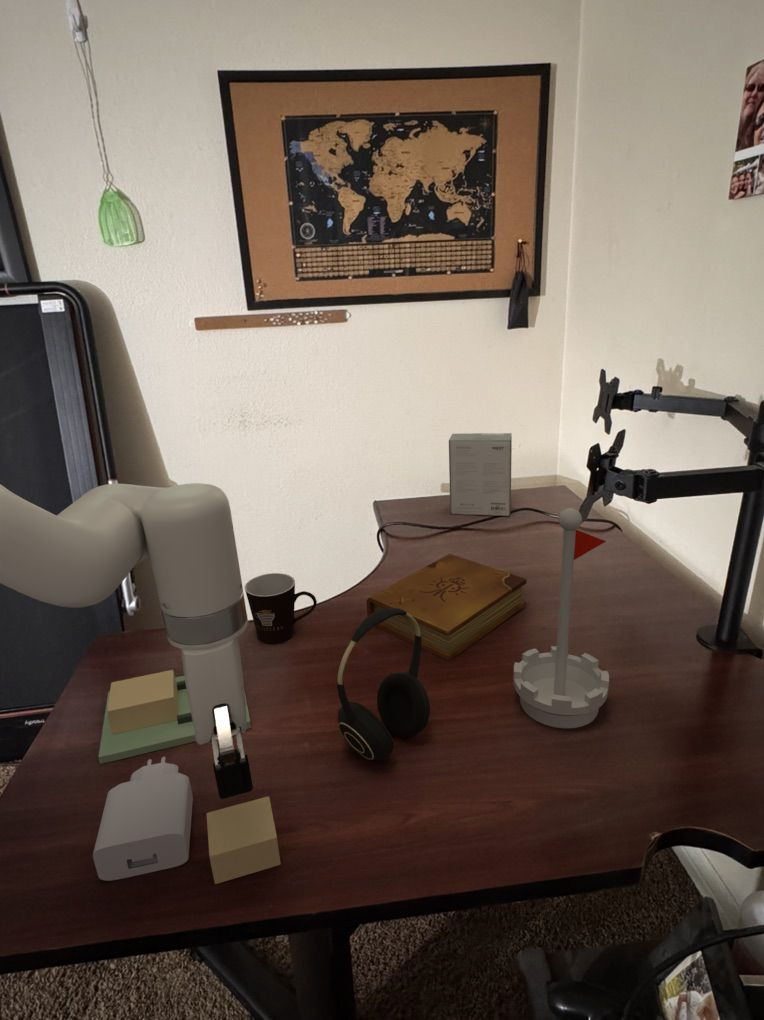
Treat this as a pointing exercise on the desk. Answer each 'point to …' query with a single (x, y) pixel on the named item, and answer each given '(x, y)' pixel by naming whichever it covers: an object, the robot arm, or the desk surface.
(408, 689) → the headphones
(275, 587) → the coffee mug
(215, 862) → the yellow block
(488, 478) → the hard drive box
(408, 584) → the diary
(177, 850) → the charger
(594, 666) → the flag stand
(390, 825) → the desk surface
